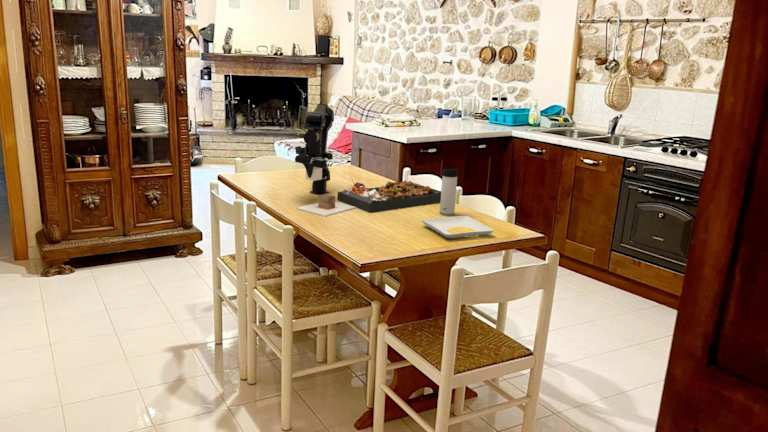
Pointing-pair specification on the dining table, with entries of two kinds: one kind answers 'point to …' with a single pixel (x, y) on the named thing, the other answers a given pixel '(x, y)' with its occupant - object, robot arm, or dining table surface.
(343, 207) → the blueprint board
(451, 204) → the travel mug
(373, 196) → the food platter
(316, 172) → the offwhite cube
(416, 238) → the dining table surface
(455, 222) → the salad plate
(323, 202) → the walnut cube
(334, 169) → the dining table surface
